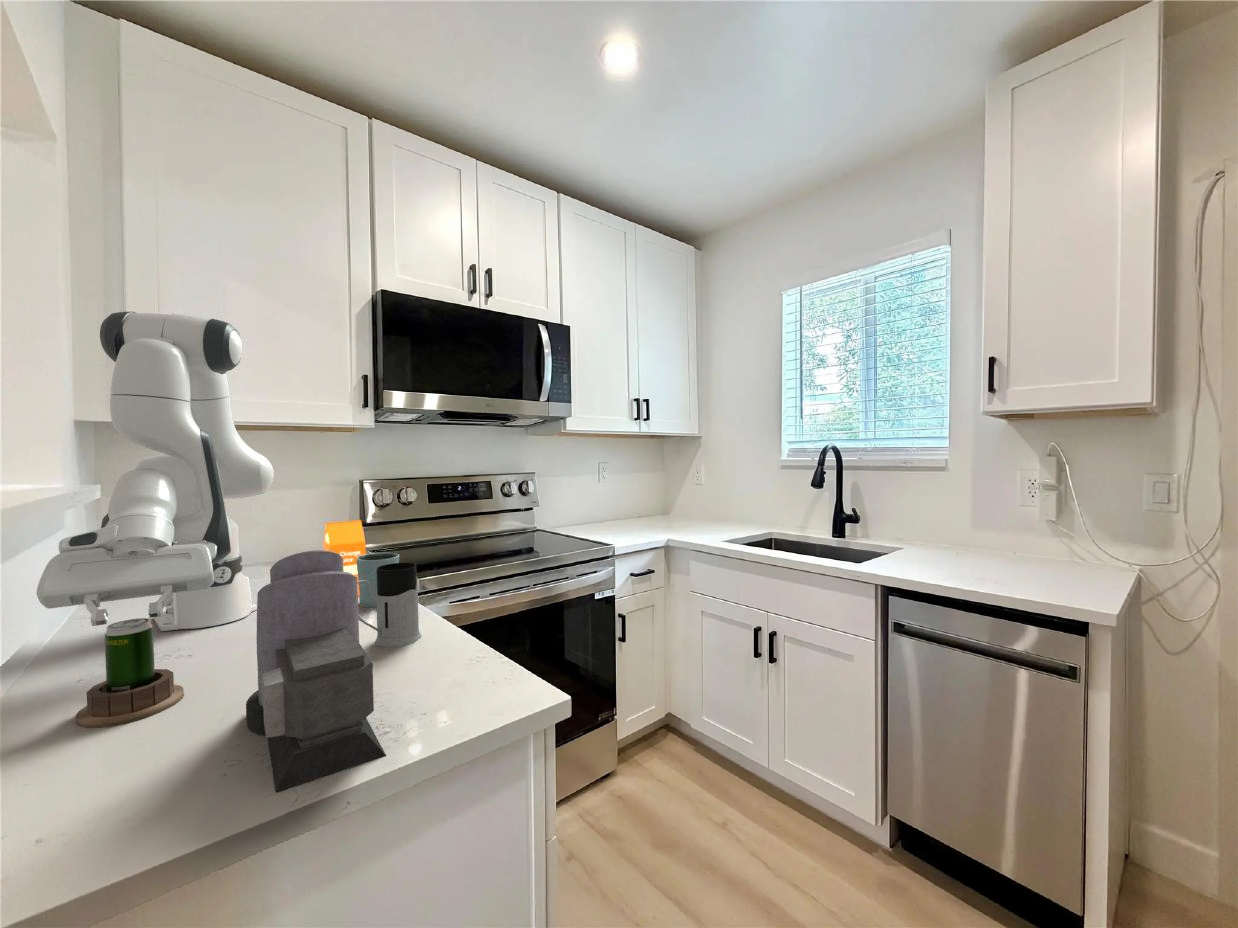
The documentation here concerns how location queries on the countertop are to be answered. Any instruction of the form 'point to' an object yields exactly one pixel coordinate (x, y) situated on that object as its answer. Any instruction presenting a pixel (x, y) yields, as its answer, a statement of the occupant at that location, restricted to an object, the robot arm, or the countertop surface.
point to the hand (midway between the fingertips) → (127, 619)
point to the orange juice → (346, 543)
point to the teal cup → (371, 574)
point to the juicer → (312, 672)
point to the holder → (396, 605)
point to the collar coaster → (129, 717)
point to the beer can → (129, 655)
